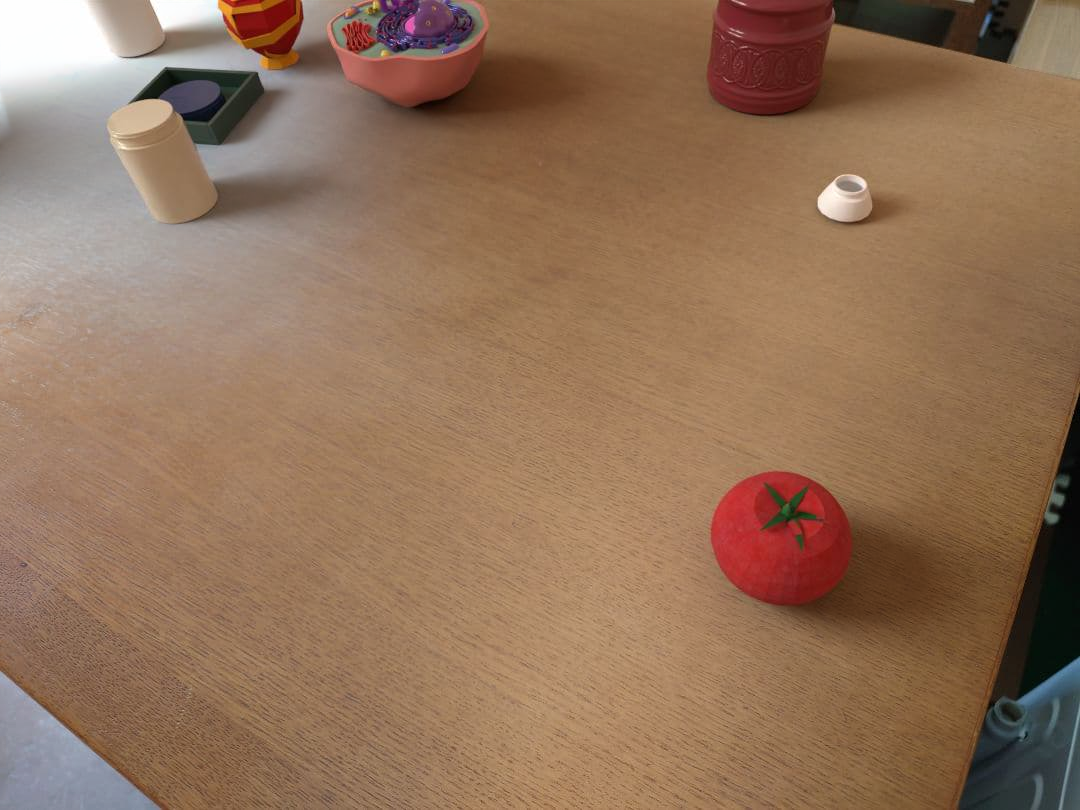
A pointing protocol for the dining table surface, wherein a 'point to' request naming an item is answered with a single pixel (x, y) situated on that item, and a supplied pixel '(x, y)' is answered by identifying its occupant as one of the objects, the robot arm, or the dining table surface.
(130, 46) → the milk bottle
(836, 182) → the lidless jar
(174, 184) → the jam jar
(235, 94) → the lid tray
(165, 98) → the jam lid
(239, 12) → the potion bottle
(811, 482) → the tomato
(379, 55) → the cell model
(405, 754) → the dining table surface
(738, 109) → the kitchen canister
